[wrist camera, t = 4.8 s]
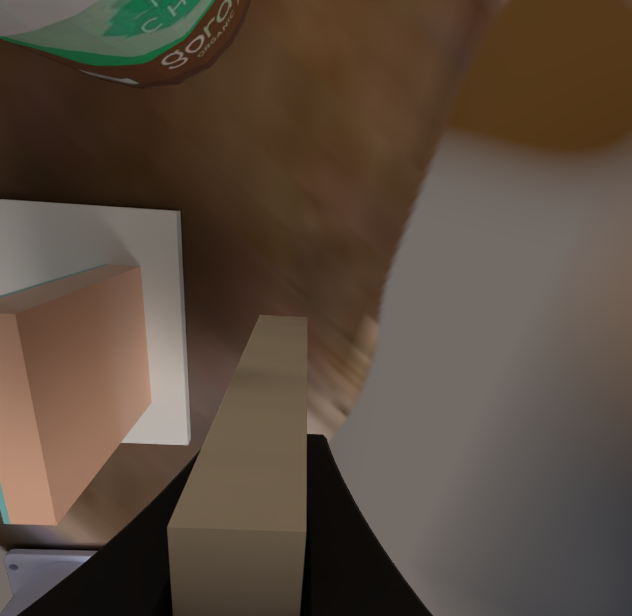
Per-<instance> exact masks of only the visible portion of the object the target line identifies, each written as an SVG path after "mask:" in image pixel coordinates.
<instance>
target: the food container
mask: <svg viewBox="0 0 632 616" xmlns="http://www.w3.org/2000/svg"><path fill="white" fill-rule="evenodd" d="M249 4H250V0H0V39H2V40H5V41H7V42H10V43H12V44H15V45H17V46H20V47H22V48H25V49H27V50H30V51H32V52H35V53H37V54H40V55H42V56H45V57H47V58H50V59H52V60H55V61H57V62H60V63H62V64H65V65H67V66H70V67H72V68H75V69H77V70H80V71H82V72H85V73H87V74H89V75H92V76H94V77H97V78H99V79H102V80H106V81H110V82H115V83H119V84H124V85H128V86H132V87H137V88H141V89H142V88H151V87H159V86H167V85H175V84H180V83H182V82H183V81H185V80H187V79H189V78H191V77H193V76H195V75H196V74H198V73H200V72H202V71H204V70H206V69H208V68H209V67H211V66H212V65H213V64H214V63H215V61H216V60H217V59H218V58H219V57H220V56H221V55H222V54H223V53H224V52H225V50H226V49H227V48H228V47H229V46H230V45H231V43H232V42H233V40H234V38H235V37H236V35H237V33H238V31H239V30H240V28H241V26H242V23H243V21H244V18H245V16H246V13H247V11H248V8H249Z"/></svg>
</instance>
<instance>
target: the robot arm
mask: <svg viewBox="0 0 632 616" xmlns="http://www.w3.org/2000/svg"><path fill="white" fill-rule="evenodd" d="M200 450H201V449H200ZM199 453H200V451H199V452H198V453H197V454H196V455H195V456H194V457H193V459H192V460H191V461H190V462H189V463H188V464H187V465H186V466H185V467H184V469H183V470H182V471H181V472H180V473H179V474H178V475H177V476H176V477H175V478H174V479H173V480H172V481H171V482H170V483H169V484H168V486H167V487H166V488H165V489H164V490H163V491H162V492H161V493H160V494H159V495H158V496H157V497H156V498H155V499H154V500H153V501H152V502H151V503H150V504H149V505H148V506H147V507H145V508H144V509H143V510H142V511H141V512H140V513H139V514H138V515H137V516H136V517H135V518H134V519H133V520H132V521H131V522H130V523H129V524H128V525H127V526H126V527H125V528H123V529H122V530H121V531H120V532H119V533H118V534H117V535H116V536H115V537H113V538H112V539H111V540H110V541H109V542H108V543H107V544H106V545H104V546H103V547H102V548H101V549H100V550H99V551H83V550H43V549H12V550H10V551H9V552H8V553H7V554H6V555H5V557H4V562H5V566H6V570H7V574H8V578H9V581H10V585H11V589H12V593H13V597H12V599H11V600H10V601H9V603H8V604H7V605H6V607H5V608H4V609H3V611H2V612H1V614H0V616H173V610H172V595H171V580H170V565H169V550H168V535H167V526H168V524H169V522H170V519H171V517H172V515H173V512H174V510H175V508H176V505H177V503H178V501H179V499H180V496H181V494H182V492H183V489H184V487H185V485H186V483H187V480H188V478H189V476H190V473H191V471H192V469H193V467H194V464H195V462H196V460H197V457H198V455H199ZM300 616H433V615H432V614H431V613H430V612H429V610H428V609H427V608H426V607H425V606H424V604H423V603H422V601H421V600H420V599H419V598H418V596H417V595H416V593H415V592H414V591H413V589H412V588H411V587H410V586H409V584H408V583H407V582H406V580H405V579H404V578H403V576H402V575H401V573H400V572H399V571H398V569H397V568H396V566H395V565H394V563H393V562H392V561H391V559H390V558H389V556H388V555H387V553H386V552H385V550H384V549H383V547H382V546H381V544H380V543H379V541H378V540H377V538H376V536H375V535H374V533H373V532H372V530H371V528H370V527H369V525H368V523H367V522H366V520H365V518H364V517H363V515H362V513H361V512H360V510H359V508H358V506H357V505H356V503H355V501H354V499H353V497H352V495H351V493H350V491H349V489H348V488H347V486H346V484H345V482H344V480H343V478H342V476H341V474H340V471H339V469H338V467H337V465H336V463H335V460H334V458H333V456H332V453H331V450H330V448H329V445H328V442H327V439H326V437H325V436H324V435H318V434H307V500H306V543H305V555H304V568H303V580H302V593H301V605H300Z"/></svg>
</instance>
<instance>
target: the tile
mask: <svg viewBox="0 0 632 616" xmlns="http://www.w3.org/2000/svg"><path fill="white" fill-rule="evenodd" d="M151 403H152V398H151V385H150V373H149V361H148V349H147V337H146V324H145V312H144V300H143V288H142V276H141V266H128V265H112V264H103V265H100V266H96V267H93V268H90V269H86V270H83V271H80V272H76V273H73V274H70V275H67V276H63V277H60V278H57V279H53V280H50V281H47V282H43V283H40V284H37V285H33V286H30V287H27V288H24V289H20V290H17V291H14V292H10V293H7V294H4V295H0V510H1V514H2V518H3V522H4V524H29V525H57V524H58V523H59V521H60V520H61V519H62V518H63V516H64V515H65V514H66V512H67V511H68V510H69V509H70V507H71V506H72V505H73V503H74V502H75V501H76V500H77V498H78V497H79V496H80V494H81V493H82V492H83V491H84V489H85V488H86V487H87V485H88V484H89V483H90V482H91V480H92V479H93V478H94V476H95V475H96V474H97V473H98V471H99V470H100V469H101V467H102V466H103V465H104V464H105V462H106V461H107V460H108V458H109V457H110V456H111V455H112V453H113V452H114V451H115V449H116V448H117V447H118V446H119V444H120V443H121V442H122V440H123V439H124V438H125V437H126V435H127V434H128V433H129V431H130V430H131V429H132V427H133V426H134V425H135V424H136V422H137V421H138V420H139V418H140V417H141V416H142V415H143V413H144V412H145V411H146V409H147V408H148V407H149V406H150V404H151Z"/></svg>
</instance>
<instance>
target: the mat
mask: <svg viewBox="0 0 632 616" xmlns="http://www.w3.org/2000/svg"><path fill="white" fill-rule="evenodd" d="M103 264H112V265H128V266H141V276H142V288H143V300H144V312H145V324H146V337H147V349H148V361H149V373H150V385H151V398H152V403H151V404H150V406H149V407H148V408H147V409H146V411H145V412H144V413H143V415H142V416H141V417H140V418H139V420H138V421H137V422H136V424H135V425H134V426H133V427H132V429H131V430H130V431H129V433H128V434H127V435H126V437H125V438H124V439H123V440H122V442H121V443H145V444H171V445H188V444H189V442H190V440H191V431H190V410H189V388H188V367H187V345H186V323H185V302H184V280H183V259H182V237H181V216H180V211H173V210H158V209H143V208H128V207H113V206H98V205H83V204H68V203H53V202H38V201H22V200H7V199H0V295H4V294H7V293H10V292H14V291H17V290H20V289H24V288H27V287H30V286H33V285H37V284H40V283H43V282H47V281H50V280H53V279H57V278H60V277H63V276H67V275H70V274H73V273H76V272H80V271H83V270H86V269H90V268H93V267H96V266H100V265H103Z"/></svg>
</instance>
